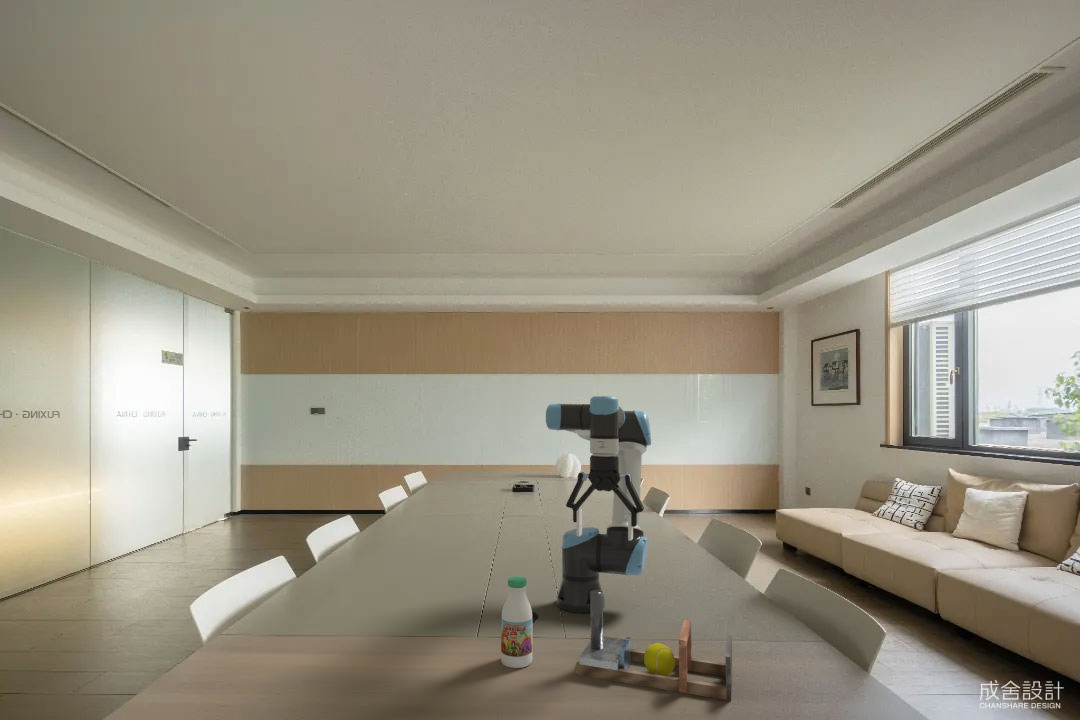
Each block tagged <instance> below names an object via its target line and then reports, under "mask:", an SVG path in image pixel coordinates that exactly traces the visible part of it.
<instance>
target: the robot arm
mask: <svg viewBox="0 0 1080 720" xmlns="http://www.w3.org/2000/svg"><path fill="white" fill-rule="evenodd" d="M589 402H590V403H582V404H581V403H552V404H549V405H548V406H547V408H546V409H545V410H546V411H545V424H546V427H547V428H548V430H551V431H565V432H566V431H567V432H571V433H573V434H577V435H578V436H579V437H580V438H581V439H584V440H587V441H589V452H590V454H591V455H590V457H589V470H590V471H589V473H586V472H584V471H581V472H578V473H577V474H578V475H577V481H576V484H575V485H574V487H573V490H572V492H571V493H570V496H569V498H568V500H567V501H566V504H565V506H566V508H569V509H571V510H572V522H573V523H576V528H574V529H571V530H567V531H566V532H565V533H563V536H562V545H561V549H562V550H561V552H562V553H561V557H562V558H561V561H562V562H561V566H562V567H561V569H562V571H561V572H562V573H561V575H562V577H561V581H560V585H559V588H558V592H557V595H556V606H557V607H558V608H560V609H561V610H564V611H566V612H569V613H570V612H572V613H577V614H580V613H581V614H582V613H583V614H586V613H591V591H592V590H600V591H602V592H603V609H604V607H606V599H605V598H606V597H605V595H604V591H603V588H602V585H601V582H600V573H601V574H610V575H622V576H626V577H627V576H628V577H630V576H640V575H642V574H643V572H644V571H645V568H646V563H647V559H648V551H649V537H647V536H644V530H643V529H642V528H641V526H640V513H642V512H644V510H645V506H644V505H643V502H642V500H641V482H642V456H643V455H644V453H646V451H647V446H648V447H649V446H651V445H652V436H651V426H650V421H649V416H648V414H647V412H645V411H640V410H637V411H636V410H623V409H622V407H621V406H619V399H618V398H617V396H612V395H611V396H610V395H609V396H608V395H605V396H604V395H602V396H601V395H597V396H596V395H595V396H592V397H591V398H590V400H589ZM587 479H588V480H589V482H590V483H591V484H590V485H589V487H588V488H587V489H586V490H585V492H584V493H583V494H582V495H581V496H580V497H579V498H578V500H577V501H576V499H577V497H578V495H579V493H580V490H581V489H582V487H583V484H584V482H586V481H587ZM595 490H596V491H598V492H602V491H604V492H612V491H613V500H612V516H611V517H612V518H611V523H610V525H608V526H607V527H606V533H600V530H599V529H598V528H597V527H583V509H582V508H581V509H580V507H581V506H583V504H584V503H585V502H586V501H587V499H588V498H589V497H590V496H591V495H592V494H593V492H594V491H595ZM575 501H576V502H575Z"/></svg>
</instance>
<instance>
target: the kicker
mask: <svg viewBox="0 0 1080 720" xmlns="http://www.w3.org/2000/svg"><path fill="white" fill-rule="evenodd" d="M602 591H603V590H602ZM602 591H600V590H592V591H591V612H590V640H589V642H588V644H587V645H586V646H585V648H584V650H583V651H582V653H581V654H580V655H579V659H578V660H579V661H578V662H579V664H581V665H587V666H593V667H599V668H606V669H612V670H618V668H620V669H626V670H629V666H630V664H631V662H632V661H631V649H632V647H631V646H632V638H631V637H630V636H627V637H626V638H619V637H611V636H604V608H603V594H604V591H603V592H602Z"/></svg>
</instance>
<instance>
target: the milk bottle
mask: <svg viewBox="0 0 1080 720" xmlns="http://www.w3.org/2000/svg"><path fill="white" fill-rule="evenodd" d="M507 588H508V592H507V593H508V594H507V596H506V599H505V602H504V604H503V607H502V610H501V621H500V623H501V625H500V626H501V628H500V629H501V630H500V633H501V634H500V661H501V664H502V665H503V666H504V667H506V668H510V669H521V668H525V667H528V666H530V665H531V664H532V661H533V611H532V610H533V609H532V607H531V606H532V605H531V603H530V600H529V598H528V596H527V592H526V589H527V578H526V577H525V576H520V575H516V576H515V575H514V576H510V577H508V579H507Z"/></svg>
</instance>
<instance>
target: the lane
mask: <svg viewBox="0 0 1080 720" xmlns="http://www.w3.org/2000/svg"><path fill="white" fill-rule="evenodd" d="M725 643H726V645H725V655H724V656H725V657H724V658H725V659H724V660H725V662H719V661H712V660H706V659H699V658H692V657H693V656H692V654H693V651H692V647H693V646H692V644H693V642H692V620H691V619H683V622H682V627H681V630H680V634H679V637H678V655H674V658H675V667H674V669H678V677H675V676H670V675H668V676H663V675H657V674H651V673H649V672H643V671H639V670H638V671H637V670H632V669H627V670H626V669H620V667H619V668H618V670H612V669H606V668H599V667H593V666H587V665H581V664H579V661H577V662H576V663H575V674H576V676H577V675H578V676H584V677H590V678H594V679H600V680H607V681H613V682H618V683H625V684H630V685H635V686H636V685H637V686H643V687H647V688H655V689H661V690H667V691H672V692H678V693H682V694H686V695H687V694H691V695H696V696H702V697H708V698H712V699H719V700H723V701H724V700H725V701H732V691H733V689H732V687H733V652H732V651H733V648H732V647H733V646H732V645H733V644H732V634H726V642H725ZM645 651H646V650H638V649H634V648H631V662H633V663H639V664H645V663H644V654H645ZM688 672H697V673H704V674H711V675H717V676H721V677H722V676H724V677H725V684H718V683H712V682H705V681H699V680H693V679H688Z"/></svg>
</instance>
